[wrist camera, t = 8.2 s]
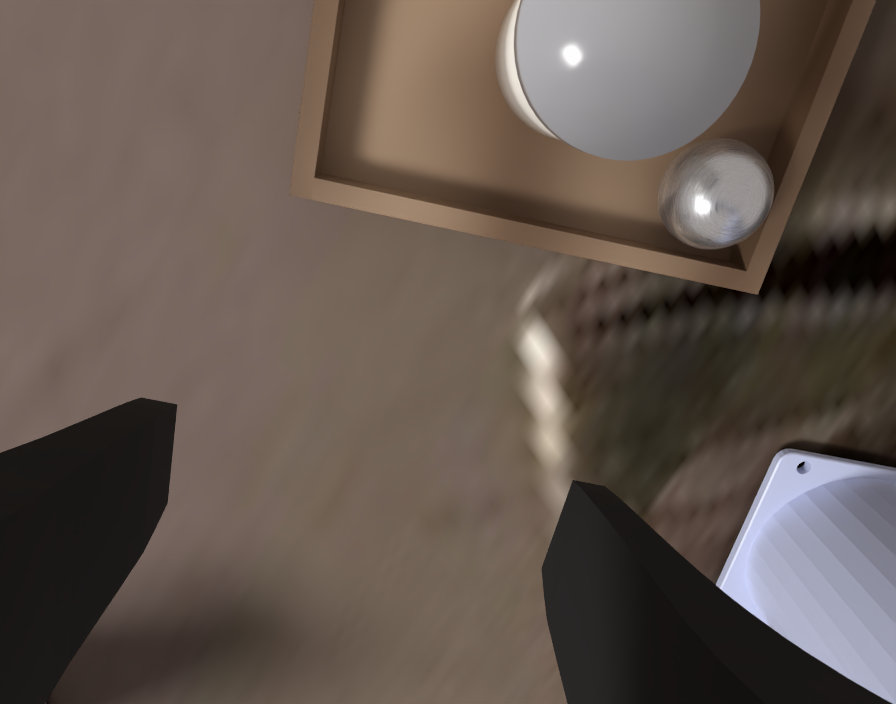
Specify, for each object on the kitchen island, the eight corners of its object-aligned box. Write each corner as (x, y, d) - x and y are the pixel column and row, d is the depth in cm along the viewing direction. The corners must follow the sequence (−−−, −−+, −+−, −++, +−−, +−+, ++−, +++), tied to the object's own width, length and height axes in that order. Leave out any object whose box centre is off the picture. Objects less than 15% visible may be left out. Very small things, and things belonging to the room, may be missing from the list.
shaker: (680, -16, 17) (798, -72, 12) (627, 158, 19) (709, 182, 13) (514, -59, 17) (555, -139, 11) (474, 123, 18) (493, 132, 13)
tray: (877, -113, 17) (932, -138, 16) (728, 277, 21) (757, 294, 19) (362, -263, 16) (354, -311, 14) (302, 186, 20) (289, 195, 18)
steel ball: (758, 147, 19) (816, 155, 16) (721, 246, 20) (769, 271, 17) (662, 124, 19) (704, 129, 16) (630, 226, 20) (663, 248, 17)
